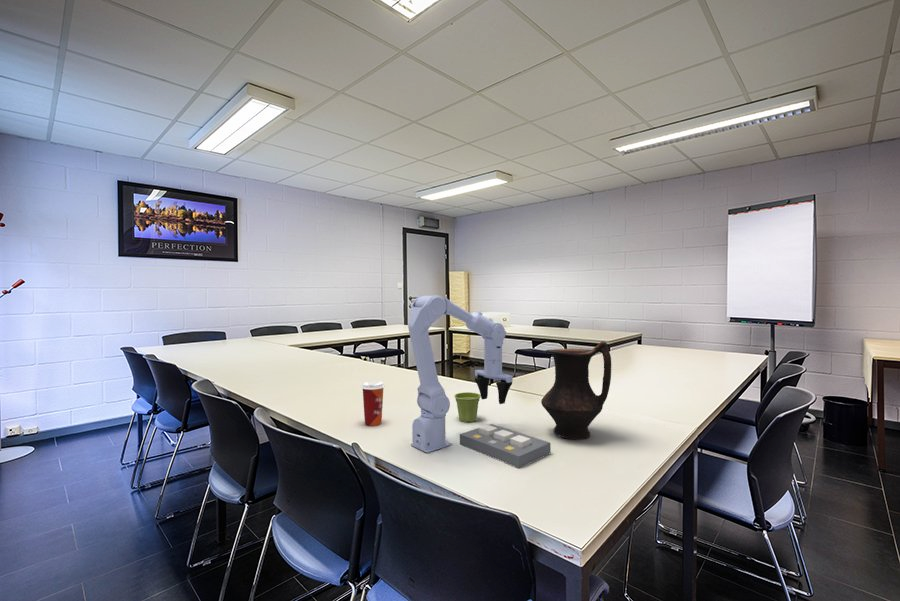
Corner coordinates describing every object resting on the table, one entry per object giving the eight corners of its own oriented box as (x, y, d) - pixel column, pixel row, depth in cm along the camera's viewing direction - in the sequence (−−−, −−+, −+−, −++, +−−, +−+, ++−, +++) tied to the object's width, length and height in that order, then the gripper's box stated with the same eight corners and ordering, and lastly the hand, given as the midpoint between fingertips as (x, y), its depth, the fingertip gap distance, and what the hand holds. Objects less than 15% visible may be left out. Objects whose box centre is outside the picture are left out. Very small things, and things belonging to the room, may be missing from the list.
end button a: (488, 441, 114) (488, 431, 114) (478, 437, 117) (478, 427, 117) (497, 438, 116) (497, 428, 116) (487, 434, 119) (487, 424, 119)
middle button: (504, 447, 109) (504, 436, 109) (493, 443, 112) (493, 432, 112) (513, 443, 112) (513, 433, 112) (502, 439, 115) (502, 429, 115)
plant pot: (471, 425, 132) (471, 400, 132) (449, 420, 138) (449, 396, 138) (485, 418, 140) (485, 394, 140) (464, 414, 145) (464, 391, 145)
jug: (533, 439, 120) (533, 341, 119) (548, 422, 136) (548, 336, 136) (607, 451, 110) (608, 345, 110) (614, 431, 126) (614, 338, 126)
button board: (518, 468, 99) (518, 455, 99) (459, 444, 116) (459, 433, 116) (550, 453, 109) (550, 442, 109) (491, 433, 125) (491, 423, 125)
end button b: (521, 453, 105) (521, 442, 105) (510, 449, 108) (510, 438, 108) (530, 449, 108) (530, 438, 108) (519, 445, 110) (519, 435, 110)
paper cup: (382, 427, 131) (382, 385, 131) (359, 427, 131) (359, 385, 131) (386, 419, 139) (386, 380, 139) (364, 419, 139) (364, 380, 139)
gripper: (518, 360, 124) (518, 403, 125) (484, 355, 135) (484, 395, 135) (504, 363, 120) (504, 407, 120) (470, 357, 130) (470, 398, 130)
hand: (492, 401), depth 127 cm, fingers open, 7 cm apart
